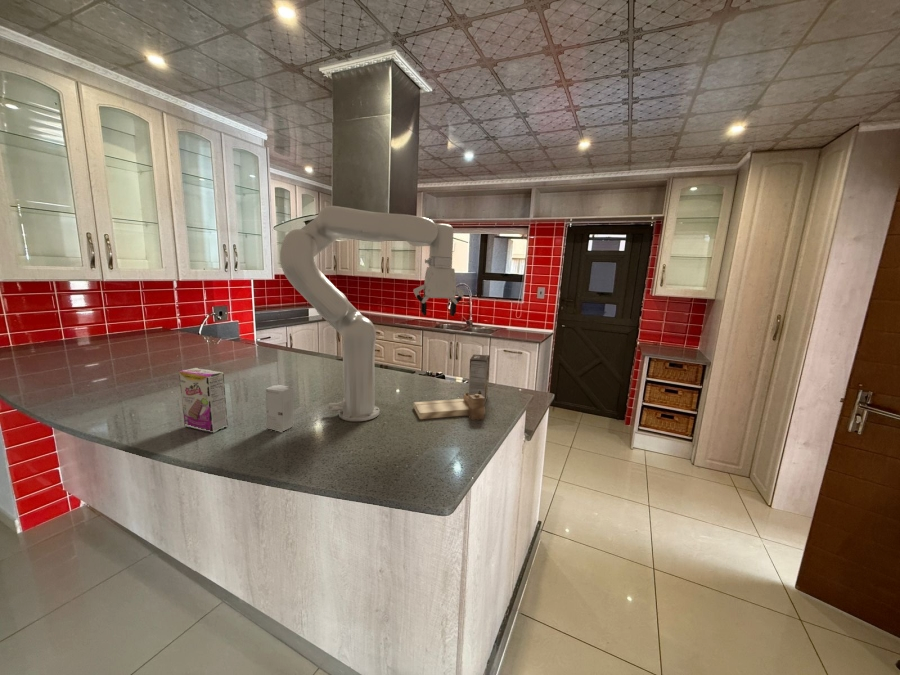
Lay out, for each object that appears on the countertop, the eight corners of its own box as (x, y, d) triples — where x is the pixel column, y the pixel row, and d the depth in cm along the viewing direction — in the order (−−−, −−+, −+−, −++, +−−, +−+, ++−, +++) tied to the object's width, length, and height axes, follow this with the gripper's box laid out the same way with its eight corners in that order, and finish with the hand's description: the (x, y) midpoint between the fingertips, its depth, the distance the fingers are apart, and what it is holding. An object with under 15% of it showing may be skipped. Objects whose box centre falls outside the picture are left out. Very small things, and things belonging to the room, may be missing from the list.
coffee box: (471, 394, 133) (473, 353, 131) (487, 396, 132) (490, 355, 130) (467, 402, 124) (469, 359, 122) (485, 404, 123) (487, 360, 121)
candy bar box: (183, 427, 97) (177, 371, 94) (200, 421, 101) (196, 367, 99) (211, 434, 93) (206, 375, 91) (229, 427, 98) (224, 371, 95)
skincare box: (265, 429, 97) (263, 388, 95) (278, 423, 101) (275, 384, 99) (283, 433, 95) (281, 391, 93) (295, 427, 100) (293, 386, 98)
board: (419, 419, 108) (419, 412, 108) (413, 407, 117) (413, 402, 117) (485, 413, 114) (485, 407, 114) (474, 403, 124) (474, 397, 123)
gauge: (472, 419, 109) (473, 396, 108) (460, 406, 120) (460, 385, 119) (483, 418, 110) (484, 396, 109) (470, 405, 121) (471, 384, 120)
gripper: (416, 261, 107) (414, 316, 110) (469, 264, 112) (466, 317, 115) (412, 262, 114) (411, 313, 117) (462, 265, 119) (459, 315, 122)
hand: (438, 315), depth 116 cm, fingers open, 9 cm apart
